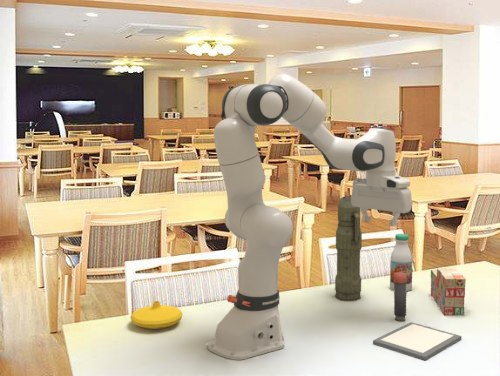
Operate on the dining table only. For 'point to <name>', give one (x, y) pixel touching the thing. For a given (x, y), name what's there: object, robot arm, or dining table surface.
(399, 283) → the marker
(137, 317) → the yellow lid
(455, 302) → the stack of blocks
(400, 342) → the writing board
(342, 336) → the dining table surface
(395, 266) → the milk bottle
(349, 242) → the thermos
